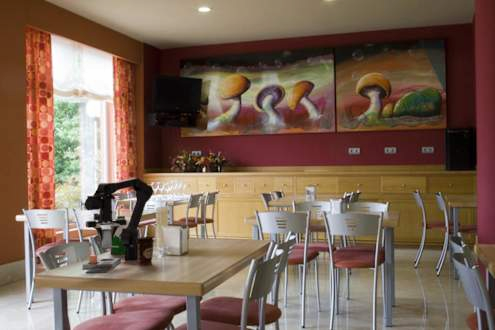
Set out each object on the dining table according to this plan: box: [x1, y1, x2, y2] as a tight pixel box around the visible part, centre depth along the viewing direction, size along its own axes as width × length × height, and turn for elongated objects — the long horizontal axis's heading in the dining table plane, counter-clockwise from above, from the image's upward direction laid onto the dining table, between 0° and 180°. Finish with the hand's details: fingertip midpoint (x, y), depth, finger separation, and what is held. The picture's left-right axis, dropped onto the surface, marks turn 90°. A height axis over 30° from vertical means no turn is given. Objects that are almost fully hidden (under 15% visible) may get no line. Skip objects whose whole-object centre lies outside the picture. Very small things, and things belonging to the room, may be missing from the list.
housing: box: [82, 257, 122, 270], centre depth 262 cm, size 14×16×2 cm
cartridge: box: [101, 228, 112, 249], centre depth 265 cm, size 5×5×8 cm
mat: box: [85, 268, 112, 274], centre depth 248 cm, size 9×9×1 cm
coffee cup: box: [136, 236, 155, 266], centre depth 262 cm, size 9×8×13 cm
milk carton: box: [109, 215, 130, 256], centre depth 296 cm, size 9×9×20 cm
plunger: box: [88, 254, 98, 264], centre depth 258 cm, size 4×4×4 cm
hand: (106, 240), depth 265 cm, fingers closed on cartridge, 5 cm apart
